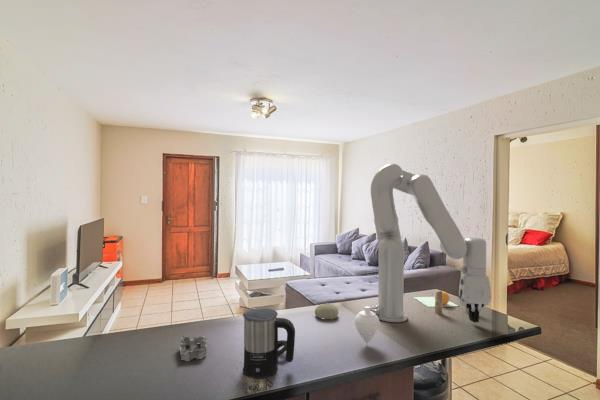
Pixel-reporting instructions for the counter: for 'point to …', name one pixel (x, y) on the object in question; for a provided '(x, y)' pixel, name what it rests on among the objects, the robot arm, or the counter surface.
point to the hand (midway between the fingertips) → (473, 321)
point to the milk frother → (265, 342)
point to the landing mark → (432, 302)
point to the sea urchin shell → (326, 311)
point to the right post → (466, 310)
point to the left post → (438, 302)
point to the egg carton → (193, 348)
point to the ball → (445, 298)
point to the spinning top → (367, 324)
